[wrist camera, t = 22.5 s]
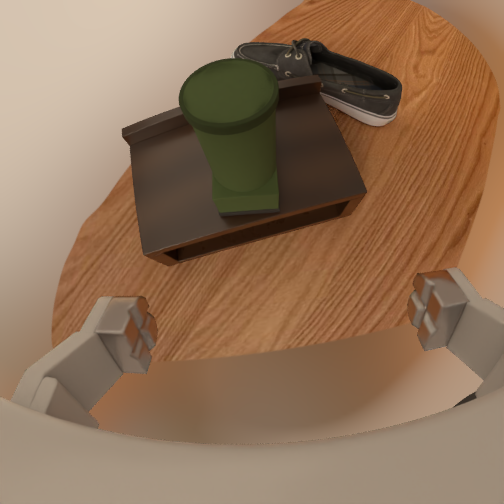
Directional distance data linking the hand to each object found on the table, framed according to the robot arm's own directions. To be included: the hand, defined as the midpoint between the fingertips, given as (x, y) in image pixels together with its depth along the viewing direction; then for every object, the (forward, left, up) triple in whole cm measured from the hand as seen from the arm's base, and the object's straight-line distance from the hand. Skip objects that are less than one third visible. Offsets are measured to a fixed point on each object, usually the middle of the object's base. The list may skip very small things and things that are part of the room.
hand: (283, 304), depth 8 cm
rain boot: (+14, -1, -17) cm, 22 cm away
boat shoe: (+28, -14, -24) cm, 39 cm away
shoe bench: (+15, 0, -24) cm, 28 cm away
